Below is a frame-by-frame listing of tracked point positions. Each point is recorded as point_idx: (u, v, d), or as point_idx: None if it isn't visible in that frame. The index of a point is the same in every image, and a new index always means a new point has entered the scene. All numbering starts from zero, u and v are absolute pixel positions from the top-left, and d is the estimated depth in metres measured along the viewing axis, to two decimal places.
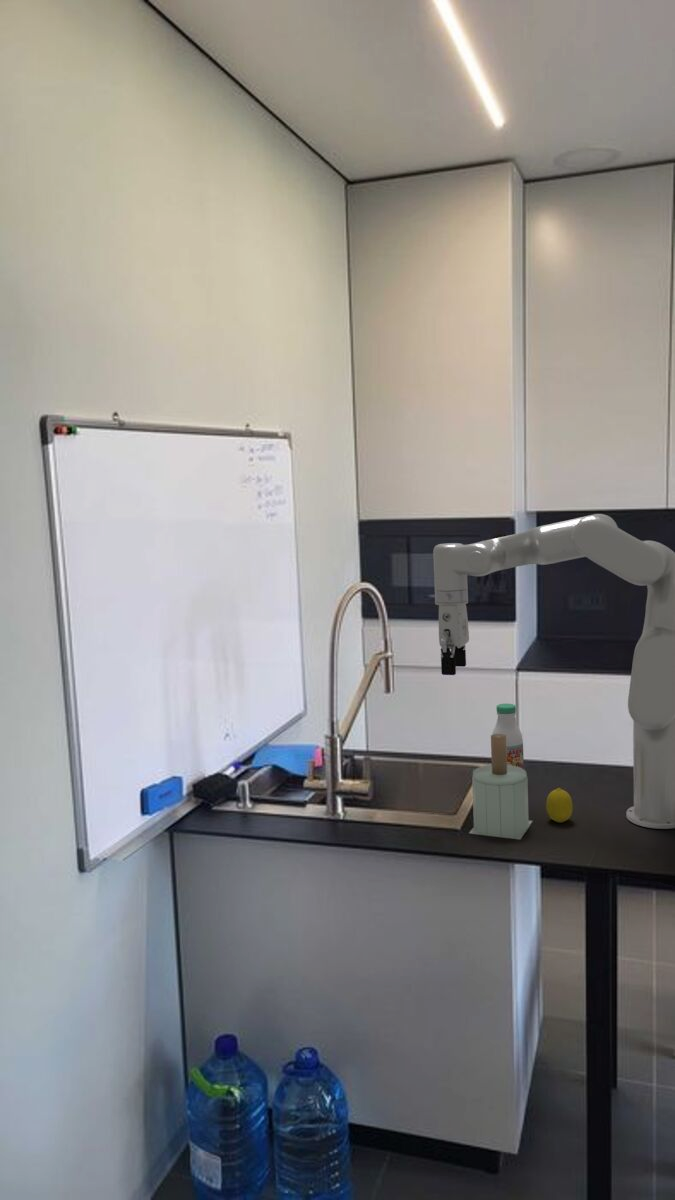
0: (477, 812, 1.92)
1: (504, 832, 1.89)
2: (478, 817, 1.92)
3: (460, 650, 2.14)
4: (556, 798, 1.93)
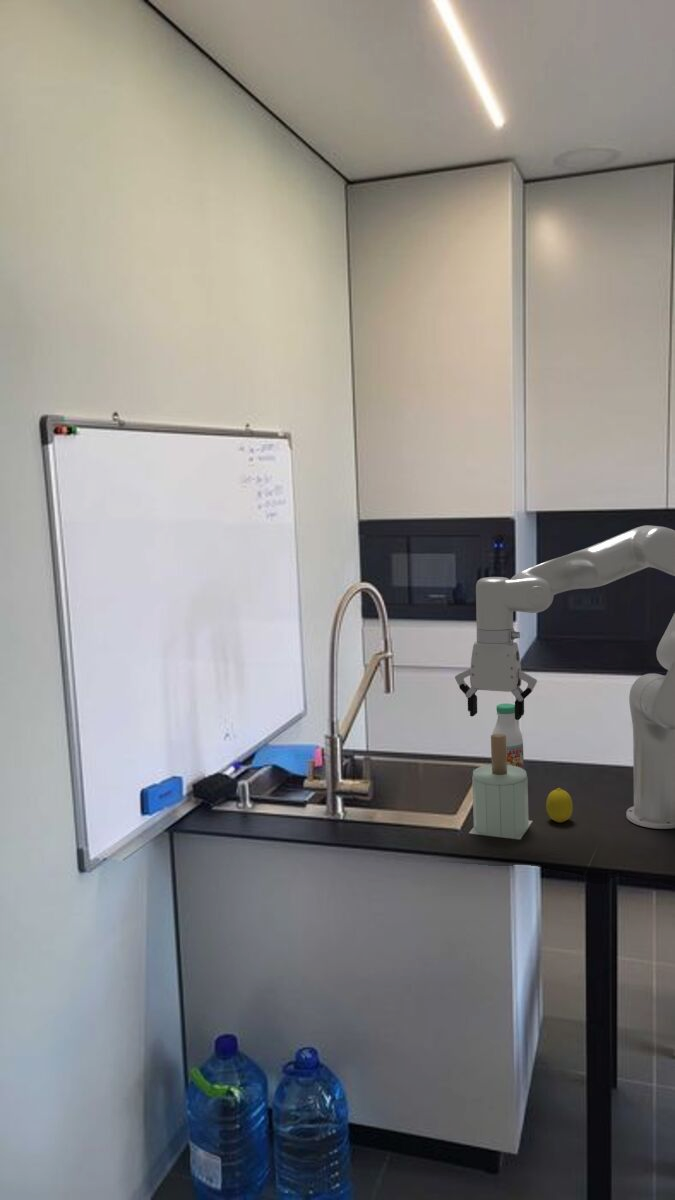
0: (477, 812, 1.92)
1: (504, 832, 1.89)
2: (478, 817, 1.92)
3: (475, 696, 1.93)
4: (556, 798, 1.93)
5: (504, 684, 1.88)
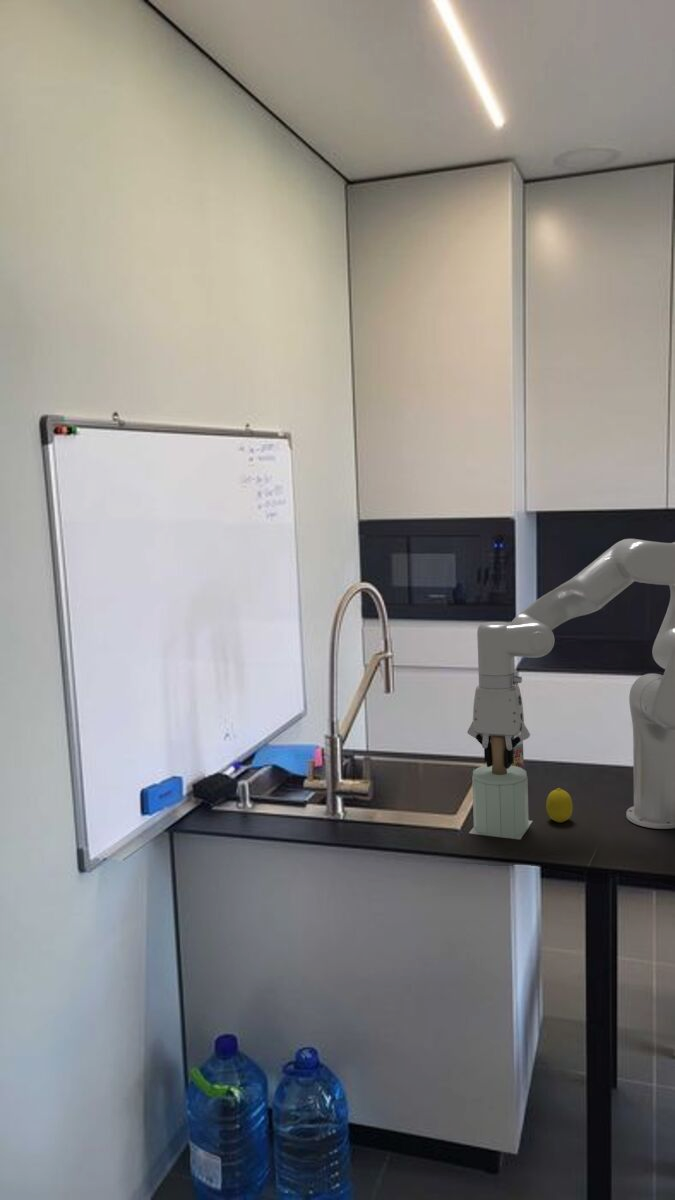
0: (477, 812, 1.92)
1: (504, 832, 1.89)
2: (478, 817, 1.92)
3: None
4: (556, 798, 1.93)
5: (507, 729, 1.89)
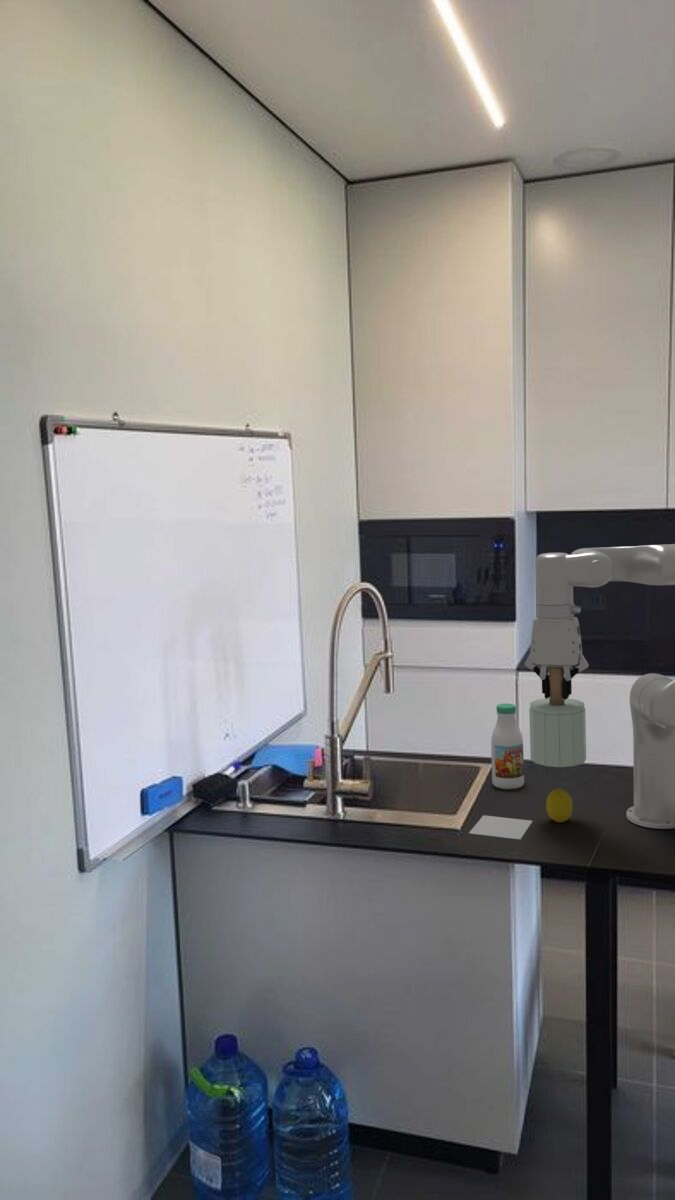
0: (535, 743, 1.92)
1: (563, 762, 1.89)
2: (536, 748, 1.92)
3: None
4: (556, 798, 1.93)
5: (566, 659, 1.89)
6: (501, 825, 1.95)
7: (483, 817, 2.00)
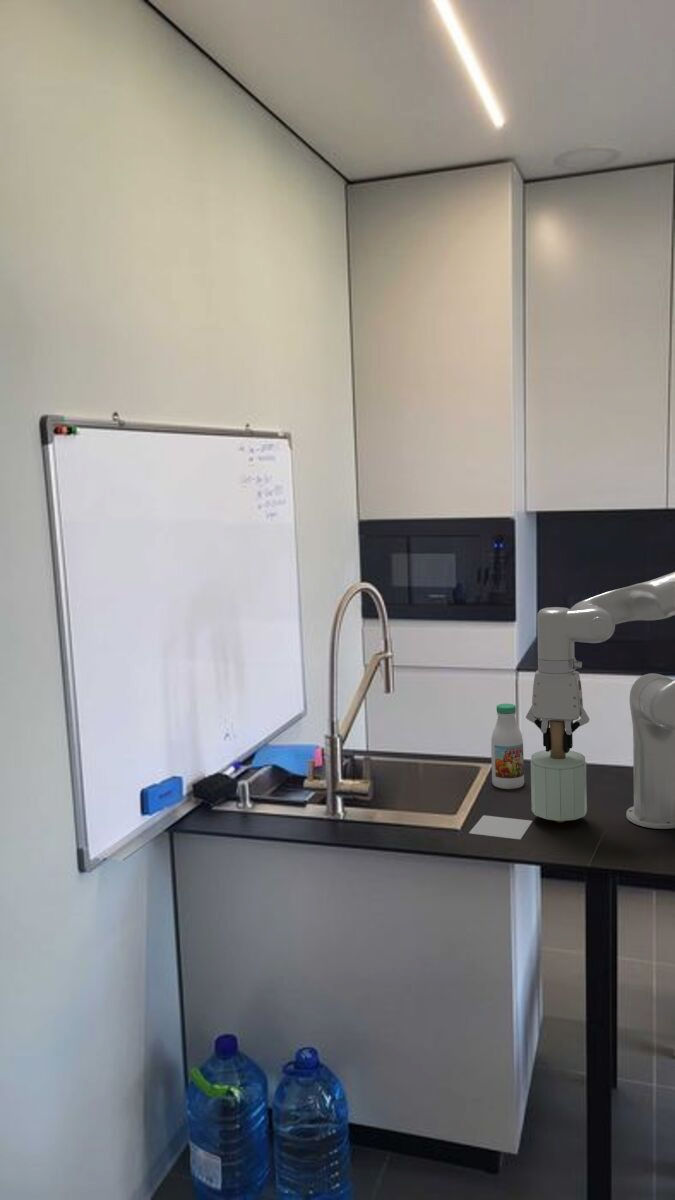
0: (536, 796, 1.93)
1: (564, 816, 1.90)
2: (537, 801, 1.93)
3: None
4: None
5: (567, 713, 1.90)
6: (501, 825, 1.95)
7: (483, 817, 2.00)
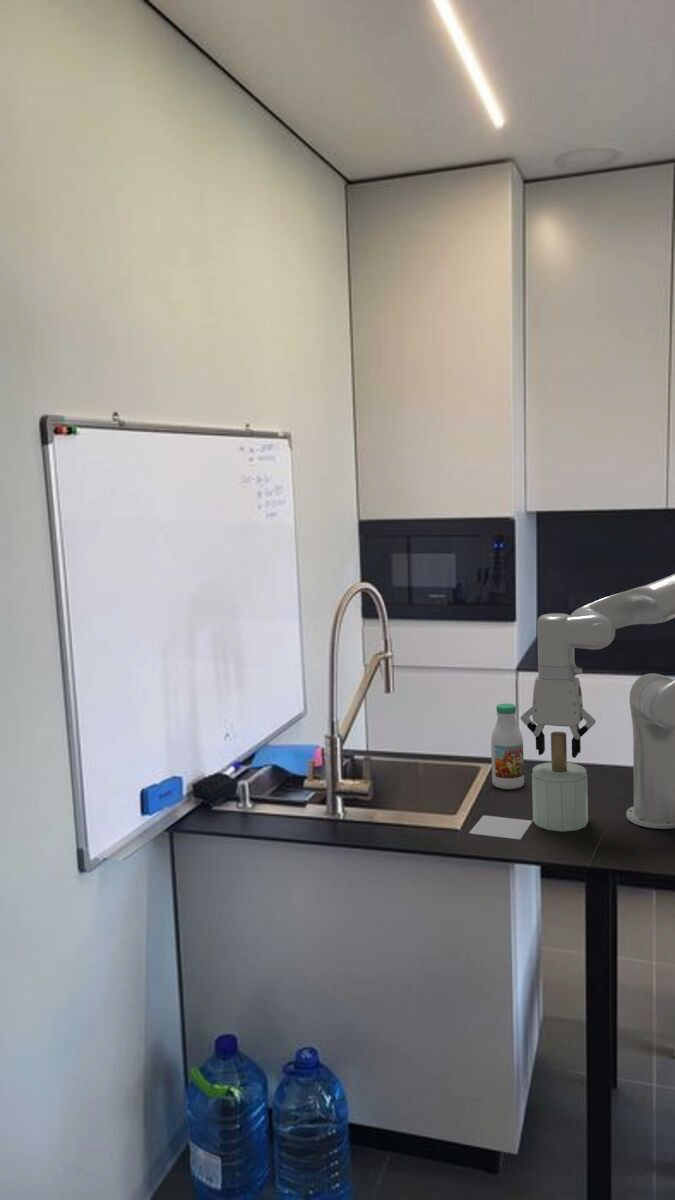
0: (537, 809, 1.93)
1: (565, 829, 1.90)
2: (538, 814, 1.93)
3: (543, 735, 1.96)
4: None
5: (567, 720, 1.90)
6: (501, 825, 1.95)
7: (483, 817, 2.00)
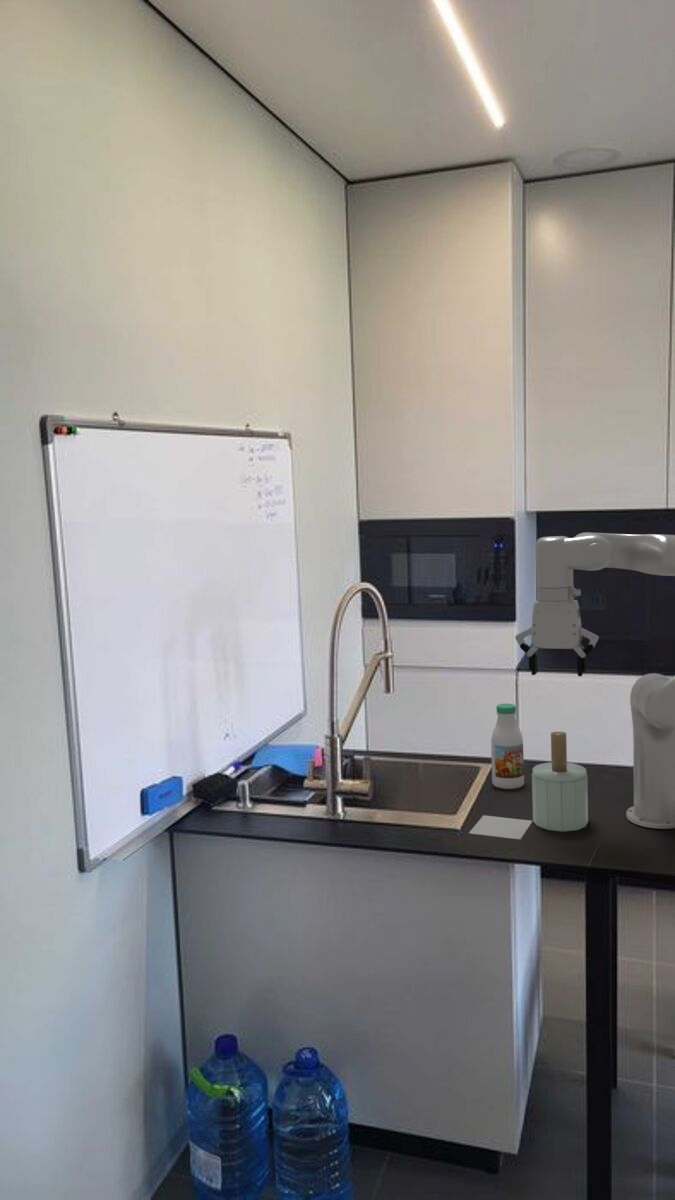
0: (537, 809, 1.93)
1: (565, 829, 1.90)
2: (538, 814, 1.93)
3: (535, 655, 1.96)
4: None
5: (566, 641, 1.90)
6: (501, 825, 1.95)
7: (483, 817, 2.00)
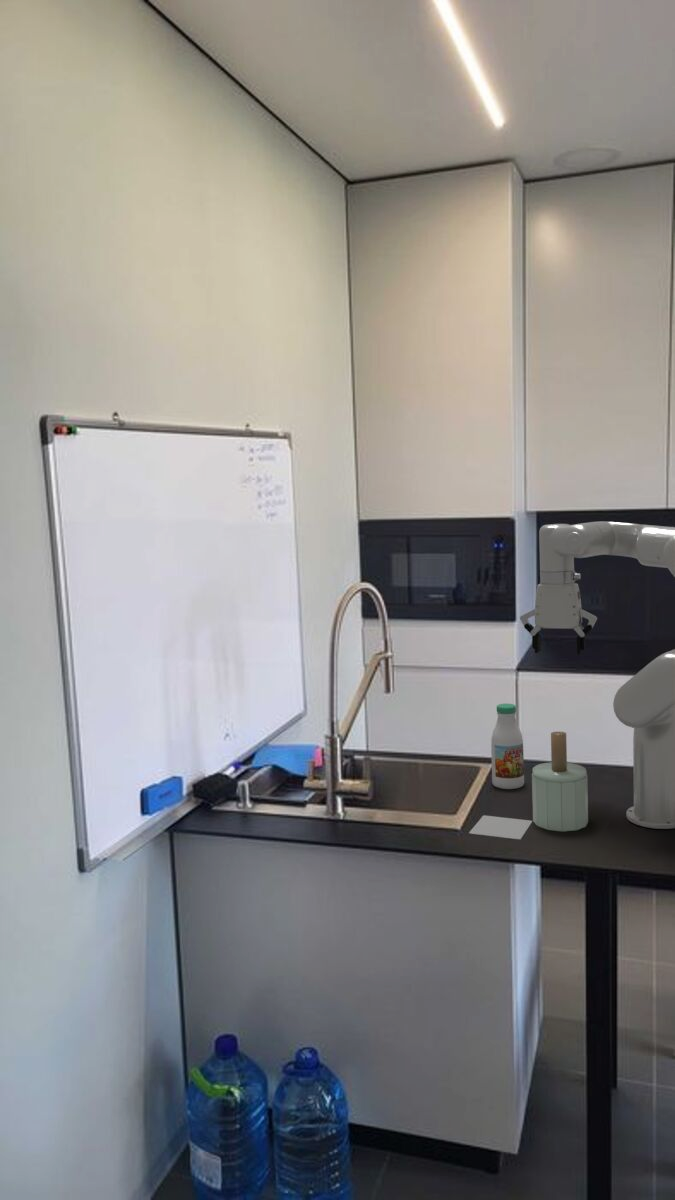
0: (537, 809, 1.93)
1: (565, 829, 1.90)
2: (538, 814, 1.93)
3: (539, 635, 2.10)
4: None
5: (567, 622, 2.05)
6: (501, 825, 1.95)
7: (483, 817, 2.00)
